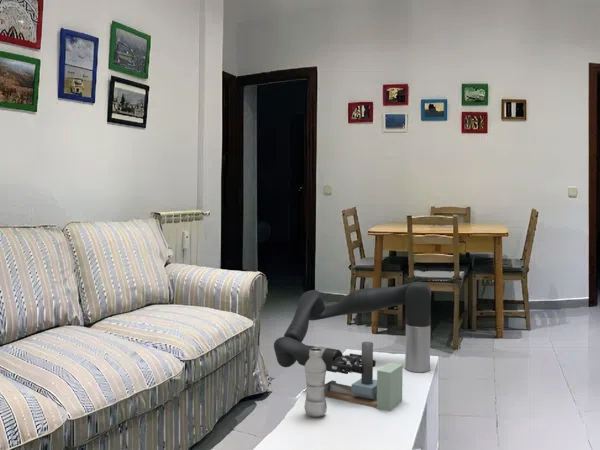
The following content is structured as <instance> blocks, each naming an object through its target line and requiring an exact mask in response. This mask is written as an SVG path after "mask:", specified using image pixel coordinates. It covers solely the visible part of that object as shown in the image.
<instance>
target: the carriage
mask: <svg viewBox="0 0 600 450" xmlns="http://www.w3.org/2000/svg"><path fill="white" fill-rule="evenodd" d="M361 355H362V360H361V361H362V365H361V366H363V367H364V373H363V374H361V377H360V378H359V379H358V380H356V381H354V382H353V383H351V386H352V392H354V395H358V396H362V397H367V398H372V399H374V398H375V393H377V379H373V378H374V377H373V375H374V373H373V371H374V367H373V360H374V342H371V341H362V342H361Z"/></svg>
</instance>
